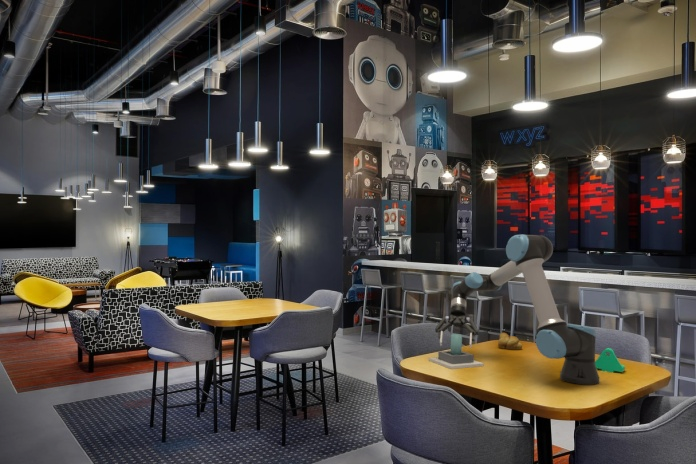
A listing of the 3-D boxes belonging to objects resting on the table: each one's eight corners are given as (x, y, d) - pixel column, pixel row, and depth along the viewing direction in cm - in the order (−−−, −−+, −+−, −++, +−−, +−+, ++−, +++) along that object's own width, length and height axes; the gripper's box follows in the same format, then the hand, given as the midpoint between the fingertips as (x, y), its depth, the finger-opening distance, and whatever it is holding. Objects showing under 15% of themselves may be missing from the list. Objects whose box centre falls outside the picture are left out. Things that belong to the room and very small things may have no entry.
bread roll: (524, 349, 294) (524, 334, 294) (518, 351, 286) (518, 336, 286) (501, 345, 301) (501, 331, 301) (494, 348, 294) (495, 333, 294)
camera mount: (625, 371, 247) (625, 348, 247) (622, 374, 241) (622, 351, 241) (596, 367, 254) (597, 345, 254) (593, 370, 248) (593, 347, 248)
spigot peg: (463, 361, 253) (464, 335, 254) (454, 362, 251) (455, 336, 251) (457, 359, 258) (457, 333, 258) (448, 359, 256) (448, 334, 256)
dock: (483, 366, 250) (483, 355, 250) (451, 369, 243) (451, 358, 243) (459, 358, 266) (460, 348, 267) (428, 360, 259) (429, 350, 259)
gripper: (484, 315, 267) (483, 351, 252) (433, 312, 274) (429, 347, 259) (484, 305, 262) (483, 342, 247) (432, 303, 269) (428, 338, 254)
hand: (455, 345), depth 253 cm, fingers open, 13 cm apart
